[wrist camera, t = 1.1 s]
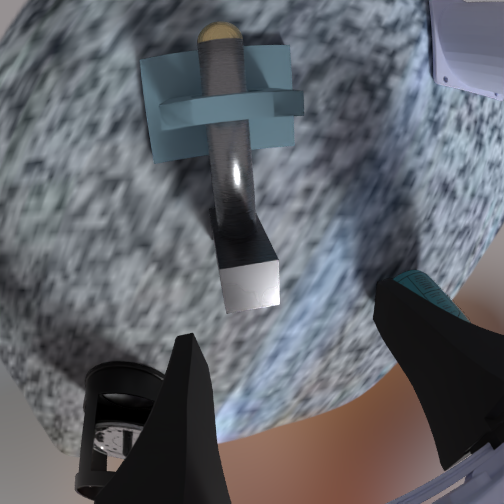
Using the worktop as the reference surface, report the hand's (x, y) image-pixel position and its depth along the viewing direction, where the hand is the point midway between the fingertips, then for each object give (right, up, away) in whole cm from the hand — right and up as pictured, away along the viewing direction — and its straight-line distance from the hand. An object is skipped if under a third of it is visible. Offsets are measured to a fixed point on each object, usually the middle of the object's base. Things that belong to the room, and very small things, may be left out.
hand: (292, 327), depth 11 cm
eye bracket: (-3, +11, +4) cm, 13 cm away
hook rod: (-3, +9, +6) cm, 11 cm away
